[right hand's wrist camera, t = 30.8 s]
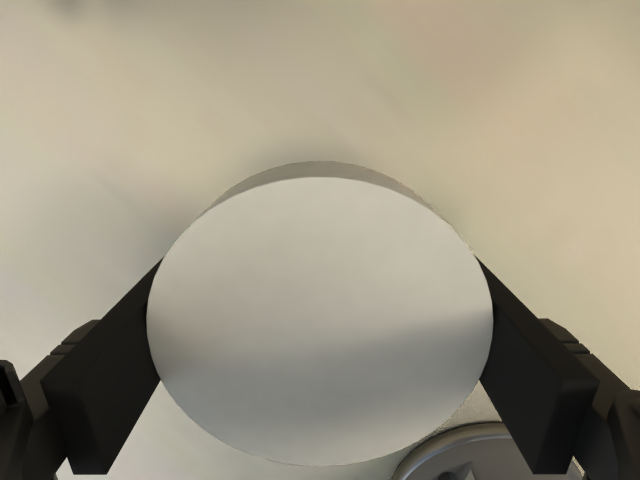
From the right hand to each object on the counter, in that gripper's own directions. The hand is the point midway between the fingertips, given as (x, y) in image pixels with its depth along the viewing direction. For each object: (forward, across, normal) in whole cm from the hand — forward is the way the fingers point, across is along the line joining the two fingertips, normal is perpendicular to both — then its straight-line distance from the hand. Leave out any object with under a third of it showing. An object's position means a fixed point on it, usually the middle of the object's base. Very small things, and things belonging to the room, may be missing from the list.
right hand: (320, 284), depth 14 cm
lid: (-3, 0, 0) cm, 3 cm away
